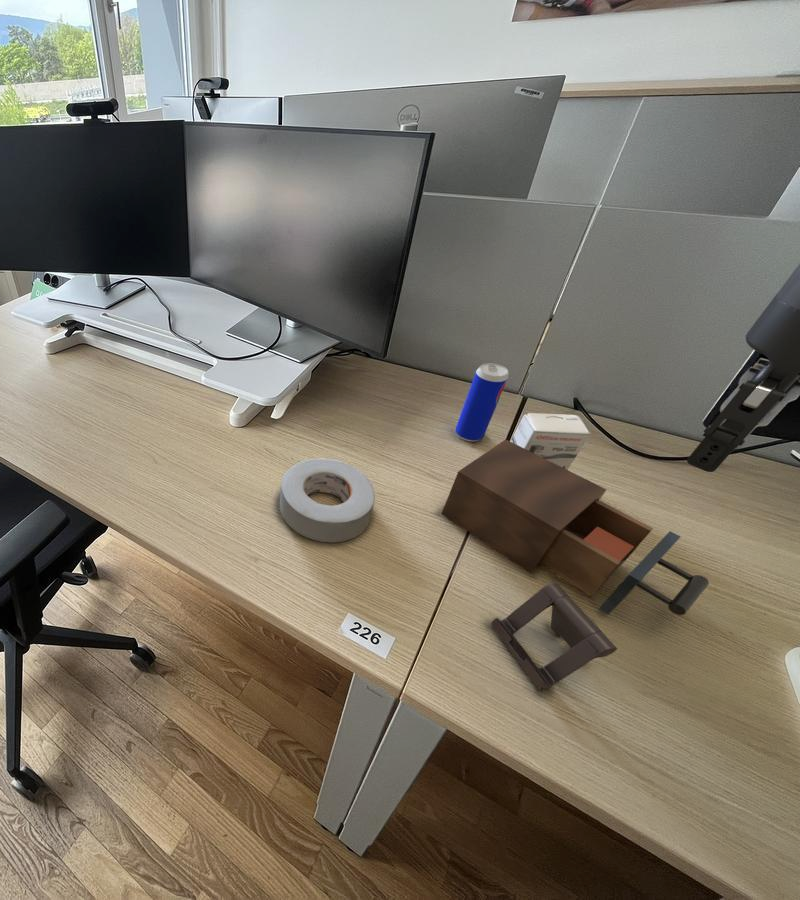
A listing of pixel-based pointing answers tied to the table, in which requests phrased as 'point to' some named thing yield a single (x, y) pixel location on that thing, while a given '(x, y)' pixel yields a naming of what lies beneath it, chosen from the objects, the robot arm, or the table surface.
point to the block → (609, 543)
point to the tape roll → (321, 518)
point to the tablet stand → (564, 623)
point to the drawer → (595, 566)
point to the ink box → (552, 436)
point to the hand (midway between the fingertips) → (716, 449)
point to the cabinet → (518, 502)
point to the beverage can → (481, 401)
